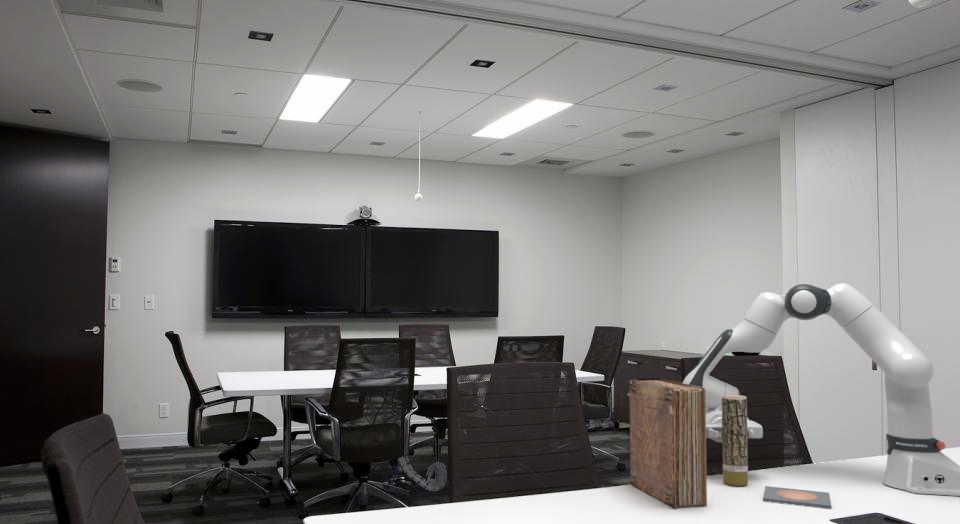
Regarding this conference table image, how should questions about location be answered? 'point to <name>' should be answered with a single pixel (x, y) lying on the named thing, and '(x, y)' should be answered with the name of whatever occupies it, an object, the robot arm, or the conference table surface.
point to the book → (668, 441)
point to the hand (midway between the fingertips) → (735, 435)
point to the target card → (797, 497)
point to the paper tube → (734, 440)
